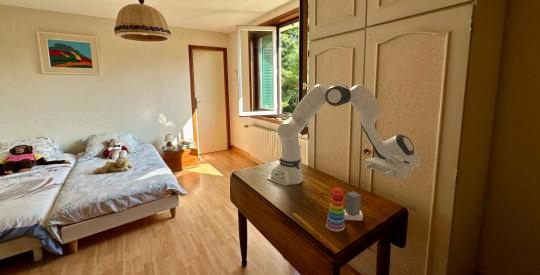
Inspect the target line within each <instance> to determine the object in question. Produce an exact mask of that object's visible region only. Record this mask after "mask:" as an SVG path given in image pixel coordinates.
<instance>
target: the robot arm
mask: <svg viewBox="0 0 540 275" xmlns="http://www.w3.org/2000/svg"><path fill="white" fill-rule="evenodd" d="M326 103H327V104H328V105H330V106H332V107H339V106H343V105H345V104H348V103H349V104H350V105H352V106H353V108H354V109H355V110H356V112H357V113H358V115H359V118H360V126H361V128H362V130H363V131H364V134H365V135H366V137H367V139H368V140H369V143H370V144H371V146H372V148H373V152H374V154H375V155H376V157H369V158H366V159H365V163H364V164H365V166H364V168H365V170H371V169H372V170H374V171H378V172H380V173H382V174H381V175H382V176H383V177H393V178H395V179H398V180H406V179H408V178H411V177H412V174H413V170H414V169H416V168H418V167H419V166H420V165H421V163H420V161H421V160H420V157H419V155H418V154H417V152H418V151H417V150H415V149H414V148H415V147H414V144H413V142H412V140H411V139H410V138H409V137H408V136H406V135H404V134H399V133H398V134H396V135H394V136H391V137H390V138H388V139H387V140H383V139H382V138H381V136H380V134H379V133H378V131H377V128H376V126H375V125H376V122H377V121H378V119H379V117H380V116H381V113H382V105H381V103H380V101H379V100H378V99H377V97H376V96H375V95H374V94H373V93H372V91H370V89H368V88H367V87H366V86H365V85H364V84H360V83H359V84H356V85H353V86H351V87H348V86H347V85H345V84H341V83H339V84H334V85H332V86H329V87H326V86H325V85H324V84H320V83H319V84H316V85H314V86H313V87H312V88H311V89H310V90H309V91H307V93H306V94H305V95H304V96H303V97H302V99H301V100H300V101H299V103H297V105H296V106H295V108H294V110H293V112H292V113H291V114H290V116H288V118H287V119H285V120H283V121H281V123H280V124H279V125H278V127H277V135H278V137H279V139H280V143H281V149H282V150H281V153H282V154H281V156H282V157H280V159H278V162H279V163H278V164H277V165H275V166H274V167H272V169H271V172H270V174H268V176H267V180H269V181H271V182H273V183H277V184H279V185H281V186H289V185H298V184H301V183H302V182H303V181H304V178H303V174H302V158H301V144H300V142H299V134H301V132H302V131H303V130H304V128H305V127H306V126H307V124H308V123H309V122H310V121H311V119H312V118H313V117H314V116H315V115H316V114H317V112H319V110H320V109H321V108H322V107H323V106H324V105H325V104H326ZM421 162H422V161H421Z"/></svg>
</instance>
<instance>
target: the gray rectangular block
mask: <svg viewBox="0 0 540 275" xmlns="http://www.w3.org/2000/svg"><path fill="white" fill-rule="evenodd" d="M345 197H346V198H345V209H346V212H347V213H349V214H350V215H352V216H355V215H358V214H360V210H361V198H362V197H361V194H359V193H357V192H356V191H350V192H347V193H346V194H345Z"/></svg>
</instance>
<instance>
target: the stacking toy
mask: <svg viewBox="0 0 540 275" xmlns="http://www.w3.org/2000/svg"><path fill="white" fill-rule="evenodd" d="M344 197H345V191H344V189H342V188H341V187H335V188H333V189H332V190H331V199H330V203H329V208H328V209H329V211H328V212H327V219H326V223H325V227H326V228H327V229H328V230H330V231H332V232H341V231H344V230H345V229H346V225H345V221H346V220H345V218H344V209H345V208H344V207H345V206H344Z"/></svg>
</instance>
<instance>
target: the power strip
mask: <svg viewBox="0 0 540 275" xmlns="http://www.w3.org/2000/svg"><path fill="white" fill-rule="evenodd" d="M363 215H364V214H363V212H362V210H361V209H360V214H358V215H355V216H352V215H350V214H349V213H347V212H346V208H344V218H345V220H344V221H363V220H364V219H363V218H364V216H363Z"/></svg>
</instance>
